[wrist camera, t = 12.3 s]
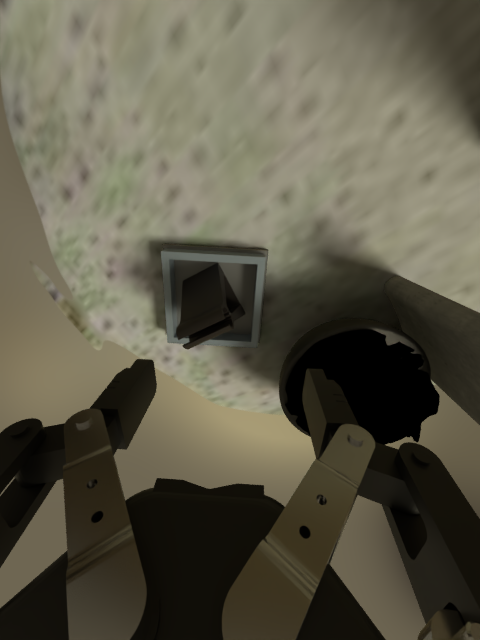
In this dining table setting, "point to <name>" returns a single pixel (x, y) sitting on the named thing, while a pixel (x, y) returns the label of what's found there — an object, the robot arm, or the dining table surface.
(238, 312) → the phone stand
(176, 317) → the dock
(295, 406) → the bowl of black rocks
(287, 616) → the robot arm
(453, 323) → the hip flask
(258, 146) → the dining table surface
